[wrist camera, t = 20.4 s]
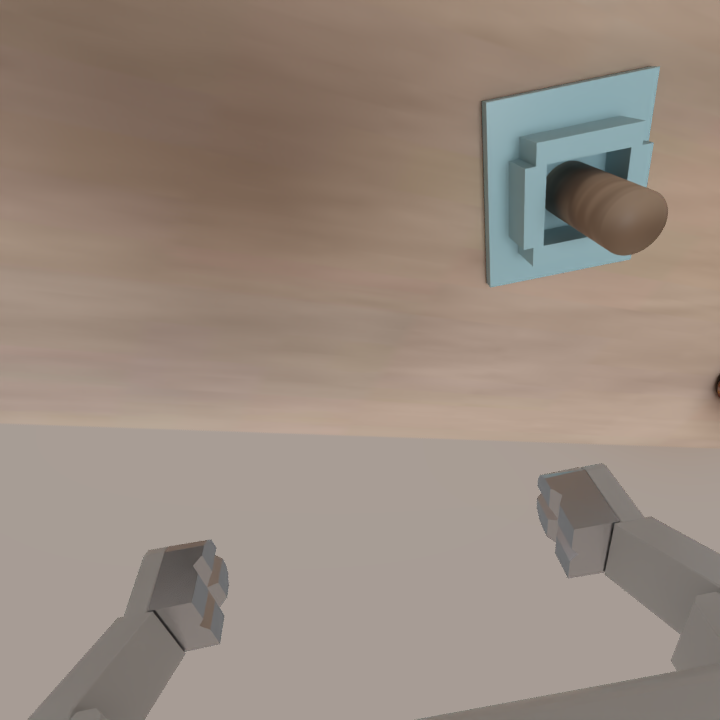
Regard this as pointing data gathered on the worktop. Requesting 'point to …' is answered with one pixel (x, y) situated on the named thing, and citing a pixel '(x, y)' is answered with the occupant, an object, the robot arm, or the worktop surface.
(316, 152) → the worktop surface
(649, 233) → the brown cylinder
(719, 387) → the sauce bottle
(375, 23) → the worktop surface
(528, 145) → the holder
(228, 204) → the worktop surface
